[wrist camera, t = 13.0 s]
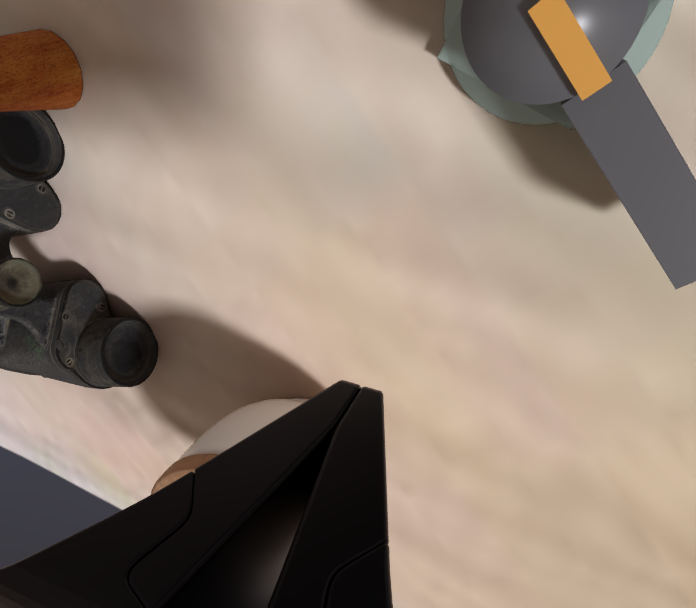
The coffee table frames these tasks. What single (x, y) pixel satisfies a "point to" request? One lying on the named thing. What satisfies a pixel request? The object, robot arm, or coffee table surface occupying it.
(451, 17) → the tribrach plate
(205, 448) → the white bowl
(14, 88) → the kendama
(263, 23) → the coffee table surface
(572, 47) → the foot screw
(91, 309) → the binoculars
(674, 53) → the coffee table surface
